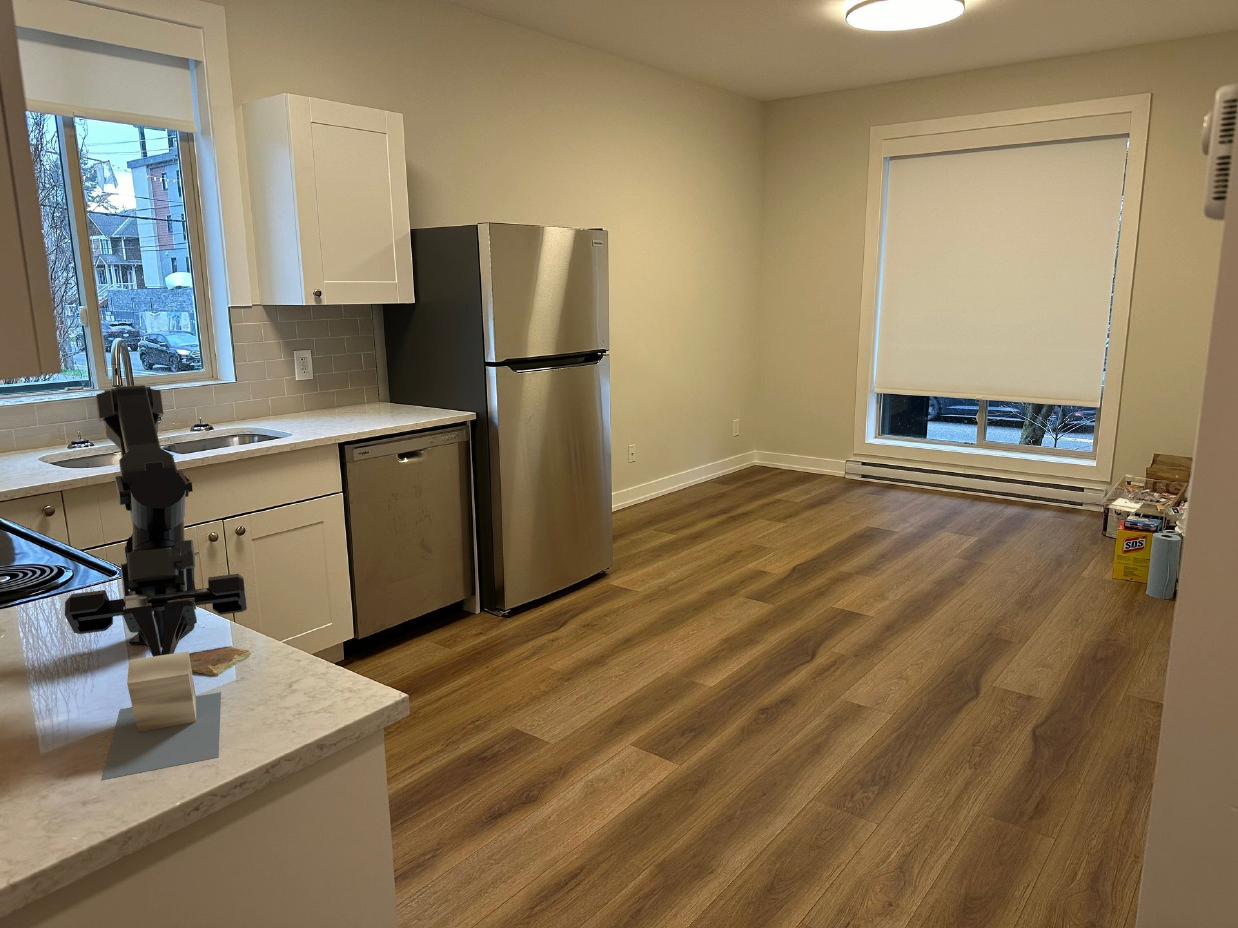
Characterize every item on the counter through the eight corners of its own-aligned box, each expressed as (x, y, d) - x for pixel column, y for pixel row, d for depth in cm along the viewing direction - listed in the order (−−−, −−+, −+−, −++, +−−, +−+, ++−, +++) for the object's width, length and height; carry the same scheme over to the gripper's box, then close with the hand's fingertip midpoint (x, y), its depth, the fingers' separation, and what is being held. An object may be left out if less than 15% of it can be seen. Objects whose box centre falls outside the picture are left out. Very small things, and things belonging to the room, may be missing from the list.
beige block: (139, 708, 101) (129, 660, 96) (196, 698, 103) (188, 651, 99) (137, 731, 98) (127, 683, 94) (196, 721, 100) (188, 673, 96)
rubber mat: (120, 711, 103) (120, 708, 103) (221, 694, 107) (221, 691, 107) (102, 783, 89) (101, 779, 89) (218, 760, 93) (218, 756, 93)
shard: (150, 671, 115) (149, 659, 114) (194, 648, 122) (192, 636, 121) (217, 683, 111) (215, 670, 111) (257, 658, 119) (256, 646, 118)
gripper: (56, 527, 96) (50, 657, 89) (237, 510, 104) (246, 629, 96) (76, 572, 105) (73, 694, 98) (242, 553, 112) (251, 665, 105)
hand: (162, 670), depth 99 cm, fingers closed
